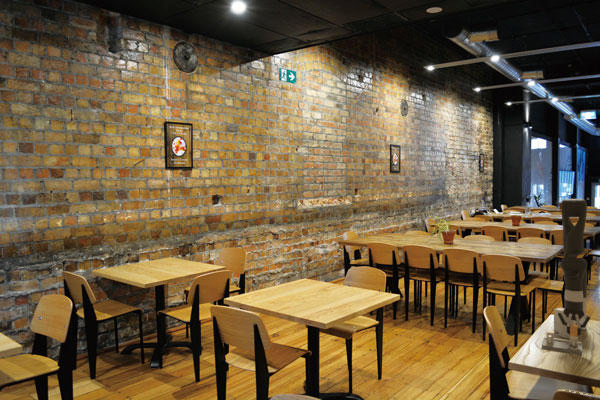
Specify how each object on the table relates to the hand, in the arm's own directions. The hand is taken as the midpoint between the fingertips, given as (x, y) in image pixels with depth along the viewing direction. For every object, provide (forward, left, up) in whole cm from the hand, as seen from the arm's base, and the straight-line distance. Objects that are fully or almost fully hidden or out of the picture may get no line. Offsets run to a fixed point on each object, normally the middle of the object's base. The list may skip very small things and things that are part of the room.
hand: (573, 334), depth 212 cm
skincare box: (-24, +8, -7) cm, 26 cm away
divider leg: (+1, -1, -5) cm, 5 cm away
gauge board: (-1, -5, -7) cm, 8 cm away
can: (-15, +6, -7) cm, 17 cm away
